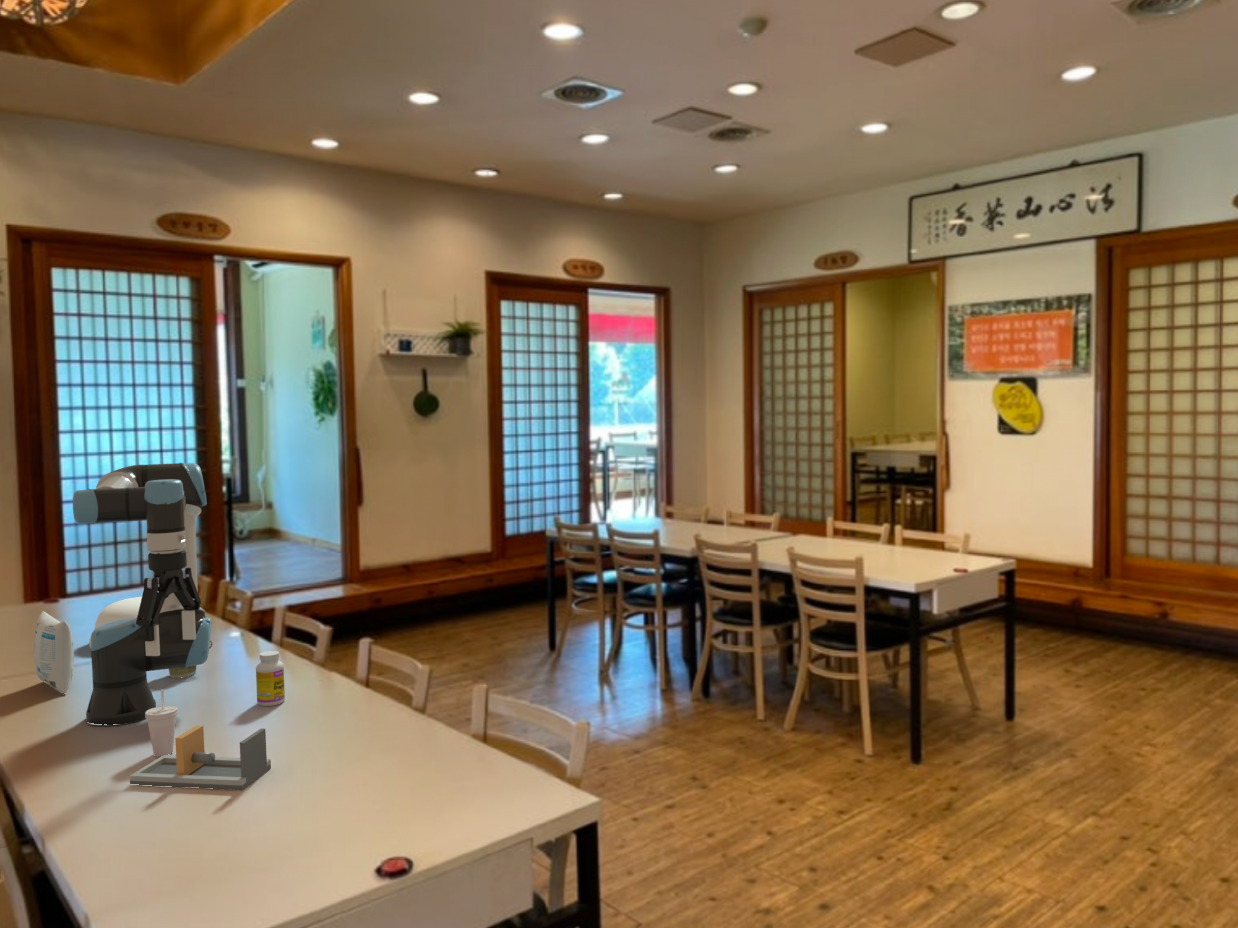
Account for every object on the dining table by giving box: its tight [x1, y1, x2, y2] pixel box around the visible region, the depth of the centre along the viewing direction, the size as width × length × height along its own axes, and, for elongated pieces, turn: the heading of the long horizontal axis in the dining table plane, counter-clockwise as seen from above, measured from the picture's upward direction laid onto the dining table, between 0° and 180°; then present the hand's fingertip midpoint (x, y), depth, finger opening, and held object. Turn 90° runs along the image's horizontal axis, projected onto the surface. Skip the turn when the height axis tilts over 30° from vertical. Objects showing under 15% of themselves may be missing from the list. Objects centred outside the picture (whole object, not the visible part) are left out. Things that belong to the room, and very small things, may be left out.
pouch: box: [33, 610, 75, 694], centre depth 250 cm, size 8×19×20 cm, turn 43°
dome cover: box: [88, 596, 142, 647], centre depth 301 cm, size 32×30×14 cm
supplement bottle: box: [255, 650, 286, 707], centre depth 234 cm, size 7×7×13 cm
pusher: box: [174, 725, 216, 775], centre depth 187 cm, size 6×7×8 cm
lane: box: [129, 728, 272, 791], centre depth 187 cm, size 24×11×9 cm, turn 82°
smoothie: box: [145, 689, 178, 757], centre depth 200 cm, size 6×6×14 cm
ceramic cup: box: [168, 639, 213, 679], centre depth 261 cm, size 13×10×10 cm
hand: (171, 647), depth 201 cm, fingers open, 13 cm apart
